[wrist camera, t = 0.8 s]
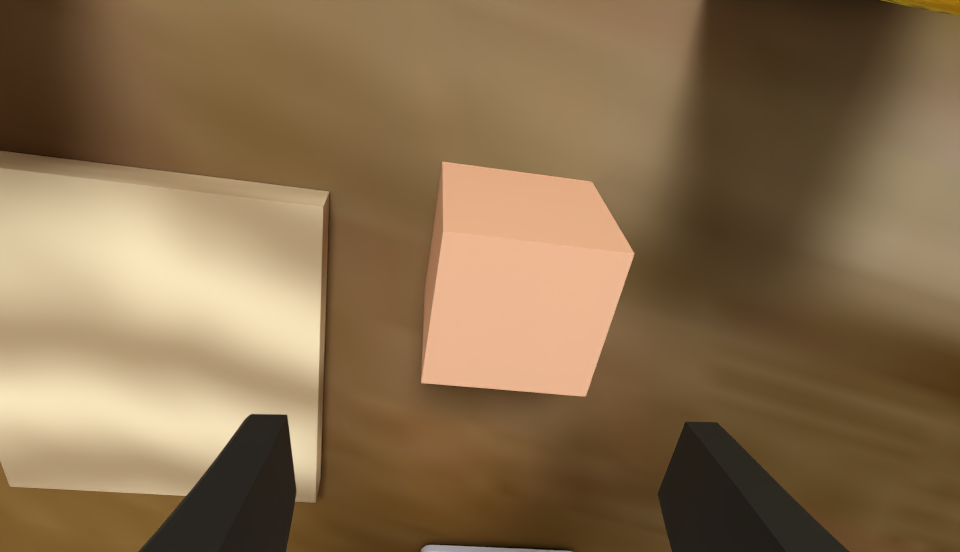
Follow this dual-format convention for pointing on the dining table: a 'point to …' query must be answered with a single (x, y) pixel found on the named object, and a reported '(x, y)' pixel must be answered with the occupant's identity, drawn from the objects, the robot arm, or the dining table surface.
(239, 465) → the robot arm
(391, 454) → the dining table surface
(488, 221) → the peach cube
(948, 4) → the supplement box
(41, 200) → the birch board
